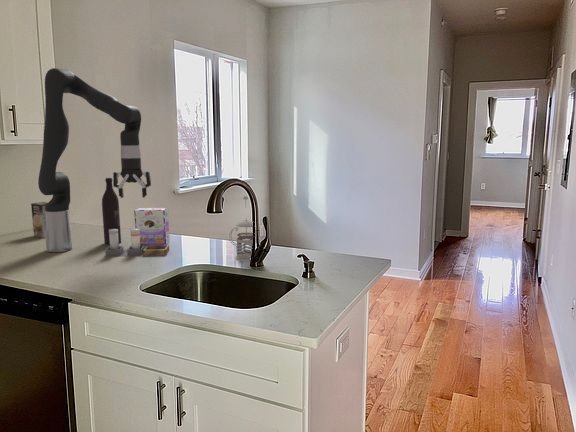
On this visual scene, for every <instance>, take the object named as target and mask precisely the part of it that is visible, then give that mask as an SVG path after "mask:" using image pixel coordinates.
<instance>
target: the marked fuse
mask: <svg viewBox="0 0 576 432" xmlns="http://www.w3.org/2000/svg"><path fill="white" fill-rule="evenodd" d="M129 232H130V243H131V244H130V246H132V249H140V246H141V244H140V233H139V232H140V229H137V228H136V229H135V228H131V229H130V231H129Z"/></svg>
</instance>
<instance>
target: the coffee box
mask: <svg viewBox="0 0 576 432" xmlns="http://www.w3.org/2000/svg"><path fill="white" fill-rule="evenodd" d="M46 203H47V202H45V201H42V202H41V201H39V202H34V203H33V202H32V203H30V205H31V217H32V219H31V221H32V229H33V236H34V237H38V238H43V239H46V237H45V229H47V226H46V215H45V204H46Z"/></svg>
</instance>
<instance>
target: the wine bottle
mask: <svg viewBox="0 0 576 432" xmlns="http://www.w3.org/2000/svg"><path fill="white" fill-rule="evenodd" d="M104 181H105V185H106V186H105V190H104V192H103V195H102V198H101V208H102V224H103V225H102V226H103V239H104V241H103V242H104V245H107V246H108V245H109V246H110V238H109V230H110V229H118V240H119V245H120V244H122V235H121V219H120V218H121V217H120V216H121V215H120V203H119V197H118V195H117V192H115V190H114V186H113V178H112V177H106V178H105V180H104Z"/></svg>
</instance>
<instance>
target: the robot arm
mask: <svg viewBox="0 0 576 432" xmlns="http://www.w3.org/2000/svg"><path fill="white" fill-rule="evenodd" d="M64 94H71V95H75V96H78V97H80V98H82V99H83V100H85V101H86V102H87V103H88V104H89V105H91V106H92V107H93V108H95V109H97V110H98V111H101V112H102V113H105V114H107V115H109V116H110V117H111V118H112V119H114V120H115V121H117V122H119V123H121V124H124V129H123V130H122V131H120V134H119V137H120V138H119V139H120V163H121V171H114V172H112V173H113V174H112V175H113V176H112V177H113V178H112V186H113V188H117V189H118V196H119V197H120V199H122V198H124V197H125V195H124V186H125V184H126V183H129V184H130V183H134V184H135V183H137V184H139V185H140V186H141V187H142V188H141V193H142V194H141V196H142V198H146V197H147V195H148V193H147V188H148V187H151V186H152V182H151V181H152V180H151V173H150V171H143V170H142V154H141V148H140V137H139V136H140V135H139V134H140V129H141V125H142V113H141V111H140V109H139V108H138V107H137V106H134V105H127V104H123V103H122V102H119V100H118V99H117V98H115V97H114V96H112V95H110V94H108V93H106V92H104V91H102V90H99V89H98V88H96V87H94V86H93V85H91V84H89V83H88V82H86V81H84V80H83V79H81V78H80V77H79V76H78V75H76V74H75V73H73V72H72V71H70V70H68V69H62V68H56V67H53V68H50V69H49V70H48V71H47V72H46V73H45V77H44V96H45V97H44V98H45V99H44V100H45V101H44V102H45V109H44V114H45V115H44V126H43V142H42V143H43V146H42V155H41V163H40V169H39V172H38V181H37V182H38V183H37V184H38V189H39V192H41V194H42V195H44V196H52V198H51V199H50V200H49V201H48V202H46V204H45V215H46V226H47V229H45V237H46V238H45V245H46V253H47V252H50V253H62V252H68V251H71V250H73V241H72V231H71V229H72V228H71V219H70V218H71V216H70V204H71V183H70V178H69V176H68V175H67V174H66V173H65V172H63V171H57V166H58V162H59V159H60V158H61V156H62V155H63V153H64V151H66V148H67V145H68V144H69V135H70V125H69V121H68V118H67V117H66V116H67V115H66V113H65V111H64V107H63V106H64V105H63V100H64ZM120 176H121V178H122V179H121V182H120V183H119V178H120ZM142 176H143V177H144V178H146V183H145V182H144V181H143V179H142Z"/></svg>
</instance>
